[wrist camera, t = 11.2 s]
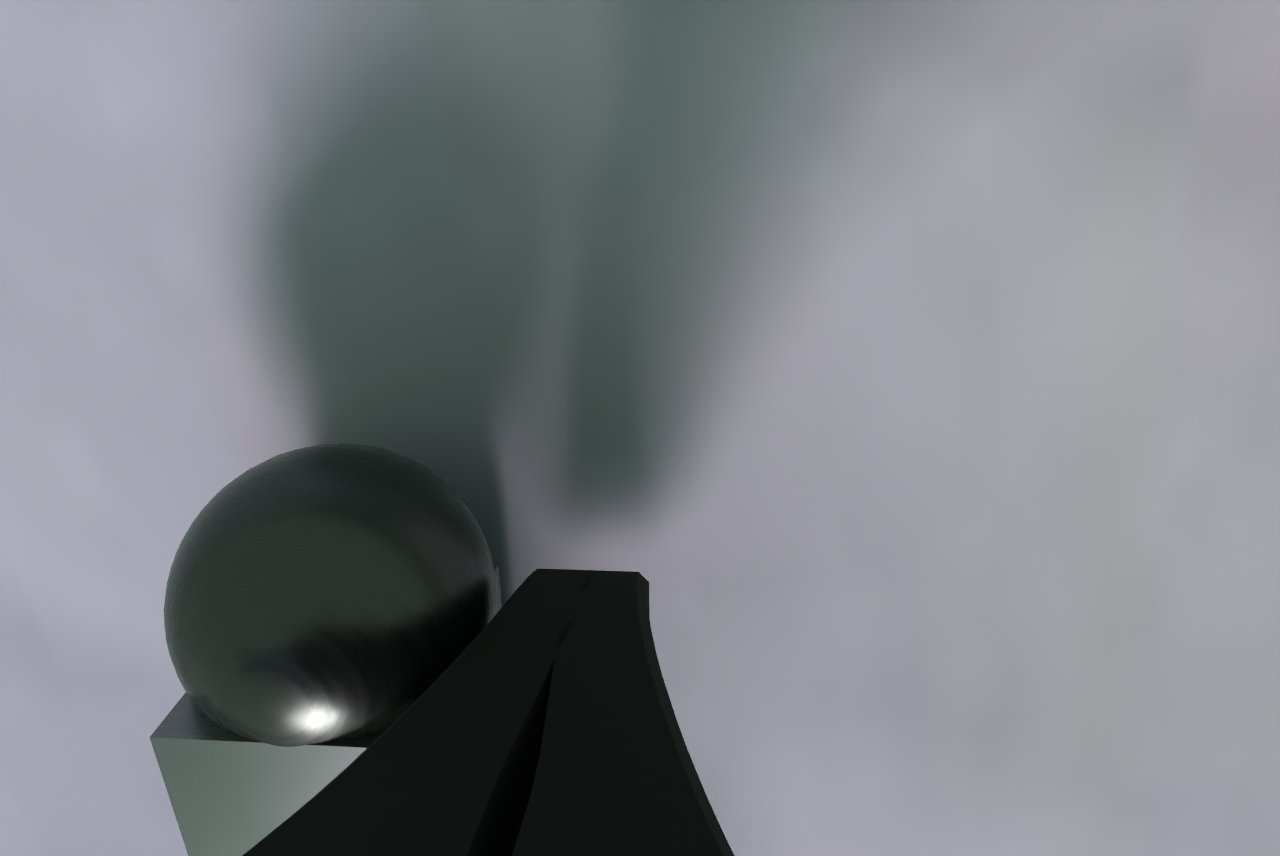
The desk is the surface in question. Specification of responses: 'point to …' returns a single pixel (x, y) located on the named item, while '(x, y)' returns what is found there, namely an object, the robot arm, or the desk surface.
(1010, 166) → the desk surface
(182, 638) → the sliding jaw
